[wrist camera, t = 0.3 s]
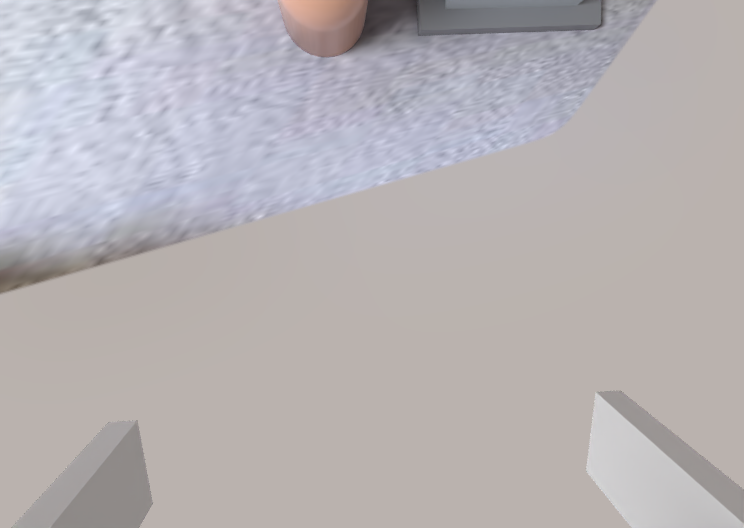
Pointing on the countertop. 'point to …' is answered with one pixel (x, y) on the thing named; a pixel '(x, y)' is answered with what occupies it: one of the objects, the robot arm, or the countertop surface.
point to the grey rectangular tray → (506, 16)
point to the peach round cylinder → (324, 24)
